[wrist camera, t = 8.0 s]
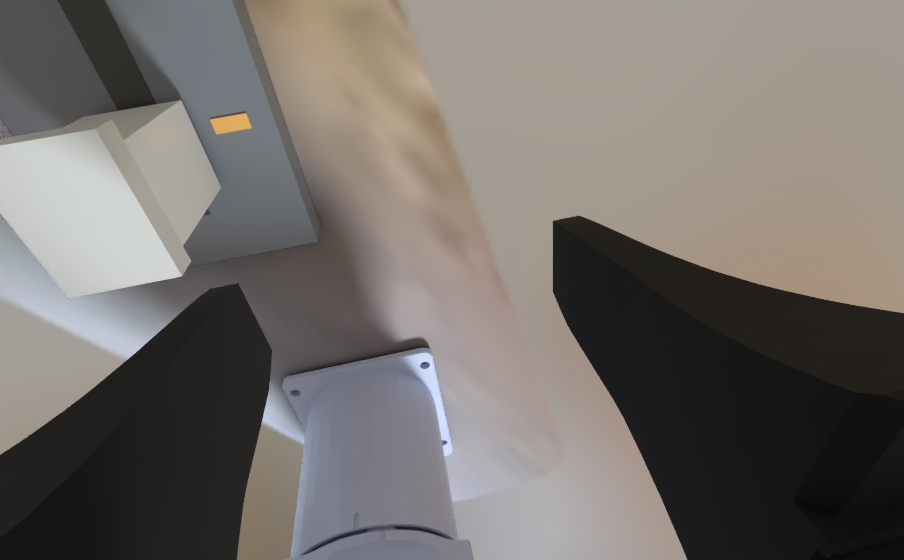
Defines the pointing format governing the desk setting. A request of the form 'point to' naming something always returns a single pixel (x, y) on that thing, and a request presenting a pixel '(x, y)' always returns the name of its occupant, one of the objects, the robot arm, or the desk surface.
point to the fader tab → (108, 196)
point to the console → (165, 80)
